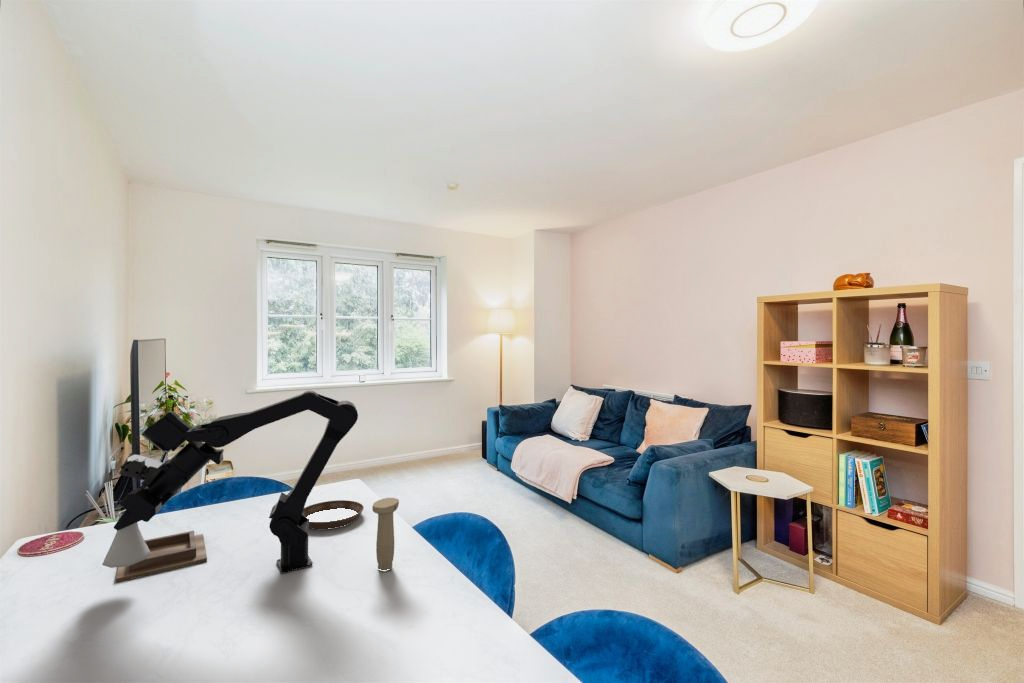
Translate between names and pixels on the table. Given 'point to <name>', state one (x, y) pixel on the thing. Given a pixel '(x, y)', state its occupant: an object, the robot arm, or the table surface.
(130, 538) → the flask
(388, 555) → the handle
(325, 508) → the ring
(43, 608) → the table surface
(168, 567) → the holder
